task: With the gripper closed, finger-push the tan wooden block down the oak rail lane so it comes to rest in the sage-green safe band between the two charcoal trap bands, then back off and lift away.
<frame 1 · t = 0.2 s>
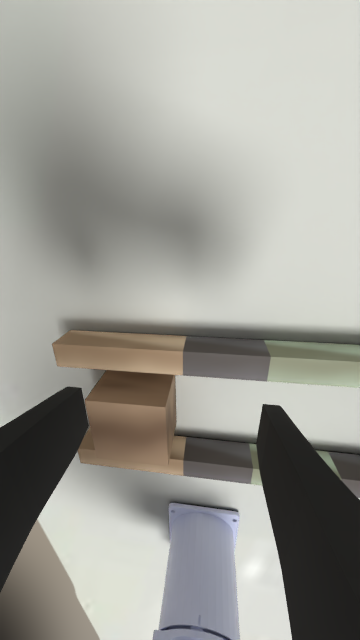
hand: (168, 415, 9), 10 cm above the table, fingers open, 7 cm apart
trap lane: (242, 405, 21), on the table
tan wooden block: (144, 395, 22), resting in trap lane
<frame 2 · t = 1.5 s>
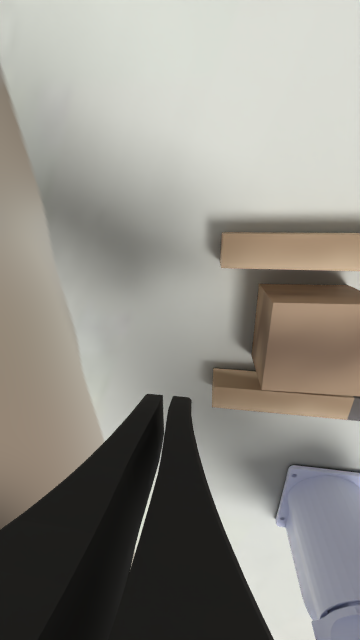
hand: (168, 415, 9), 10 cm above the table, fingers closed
tan wooden block: (295, 322, 18), resting in trap lane
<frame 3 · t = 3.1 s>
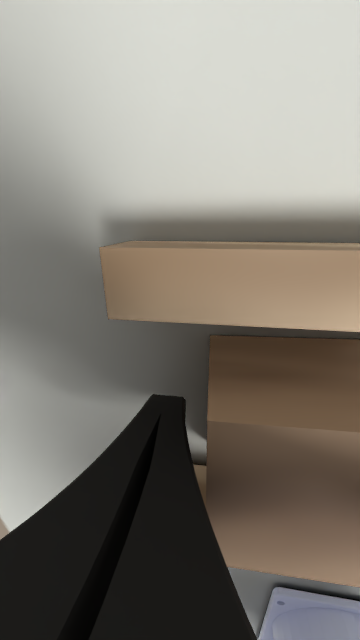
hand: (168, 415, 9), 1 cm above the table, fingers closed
tan wooden block: (278, 399, 10), resting in trap lane, touching gripper
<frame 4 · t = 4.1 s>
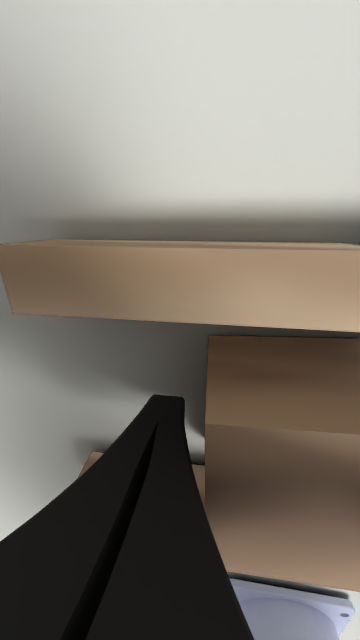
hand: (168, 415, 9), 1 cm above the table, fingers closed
tan wooden block: (279, 400, 10), resting in trap lane, touching gripper
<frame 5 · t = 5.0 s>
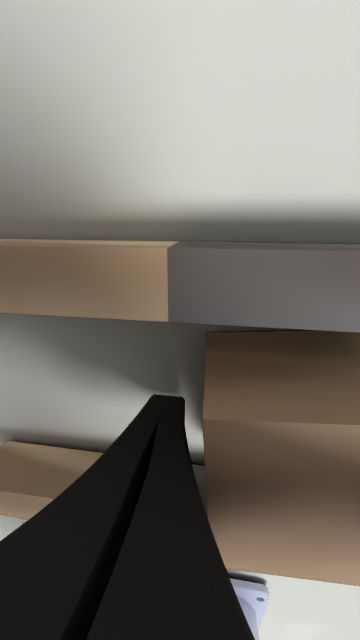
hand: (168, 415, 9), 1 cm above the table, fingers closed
trap lane: (296, 403, 10), on the table
tan wooden block: (281, 395, 10), resting in trap lane, touching gripper
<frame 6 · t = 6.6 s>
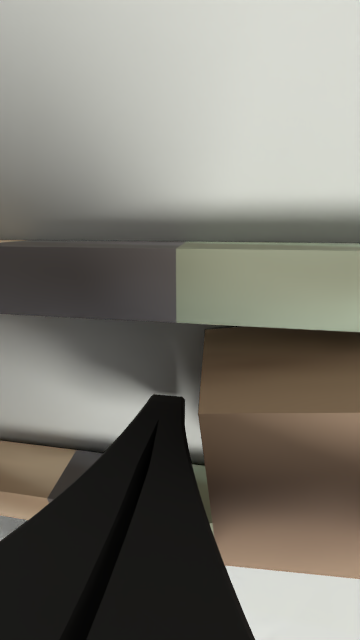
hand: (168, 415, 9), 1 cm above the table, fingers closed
trap lane: (163, 391, 11), on the table
tan wooden block: (283, 389, 10), resting in trap lane, touching gripper
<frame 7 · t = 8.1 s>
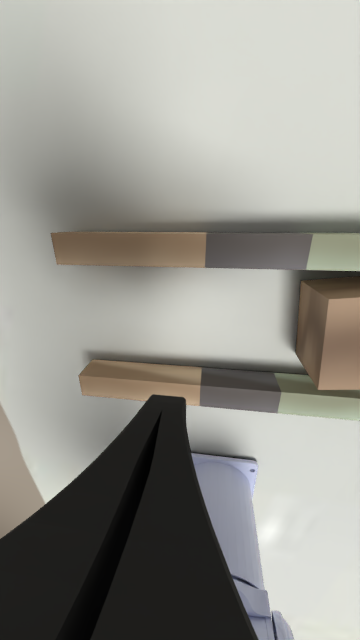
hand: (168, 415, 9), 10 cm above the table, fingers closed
trap lane: (268, 322, 18), on the table
tan wooden block: (341, 317, 18), resting in trap lane
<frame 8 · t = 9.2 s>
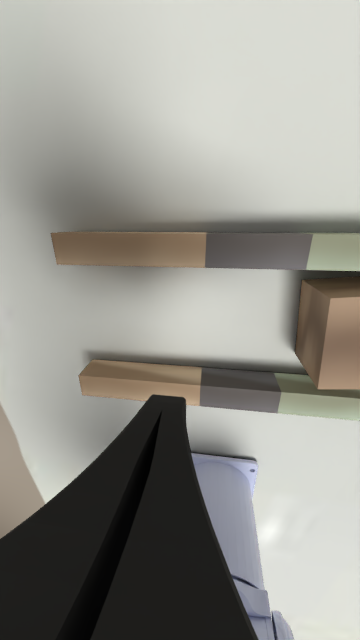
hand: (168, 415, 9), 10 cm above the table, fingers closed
trap lane: (268, 322, 18), on the table
tan wooden block: (341, 317, 18), resting in trap lane
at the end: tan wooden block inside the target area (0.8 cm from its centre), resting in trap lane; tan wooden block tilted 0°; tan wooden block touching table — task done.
